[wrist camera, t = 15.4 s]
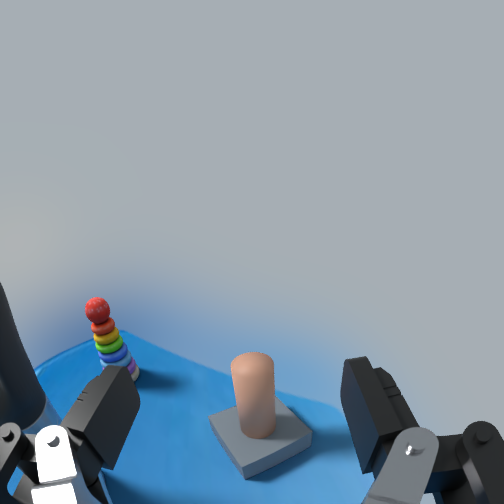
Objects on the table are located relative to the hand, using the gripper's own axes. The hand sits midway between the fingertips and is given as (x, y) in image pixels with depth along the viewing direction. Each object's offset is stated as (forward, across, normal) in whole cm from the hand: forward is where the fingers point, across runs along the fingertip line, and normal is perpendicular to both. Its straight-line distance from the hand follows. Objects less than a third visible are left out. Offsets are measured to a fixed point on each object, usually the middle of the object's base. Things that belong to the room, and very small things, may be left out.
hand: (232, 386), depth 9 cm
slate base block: (+19, +1, +30) cm, 35 cm away
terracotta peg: (+19, +1, +26) cm, 32 cm away
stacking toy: (+34, +30, +30) cm, 54 cm away
